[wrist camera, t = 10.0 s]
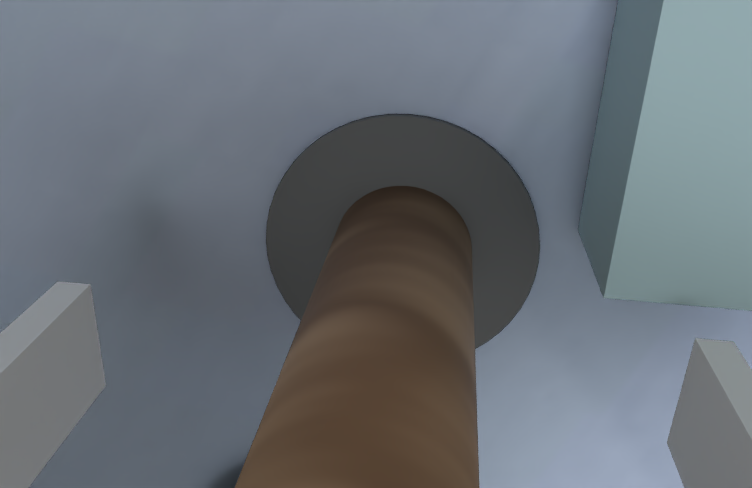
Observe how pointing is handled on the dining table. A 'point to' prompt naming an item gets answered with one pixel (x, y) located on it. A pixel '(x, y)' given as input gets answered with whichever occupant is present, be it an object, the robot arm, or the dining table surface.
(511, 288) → the pad
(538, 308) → the dining table surface
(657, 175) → the socket
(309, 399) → the peg
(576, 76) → the dining table surface
